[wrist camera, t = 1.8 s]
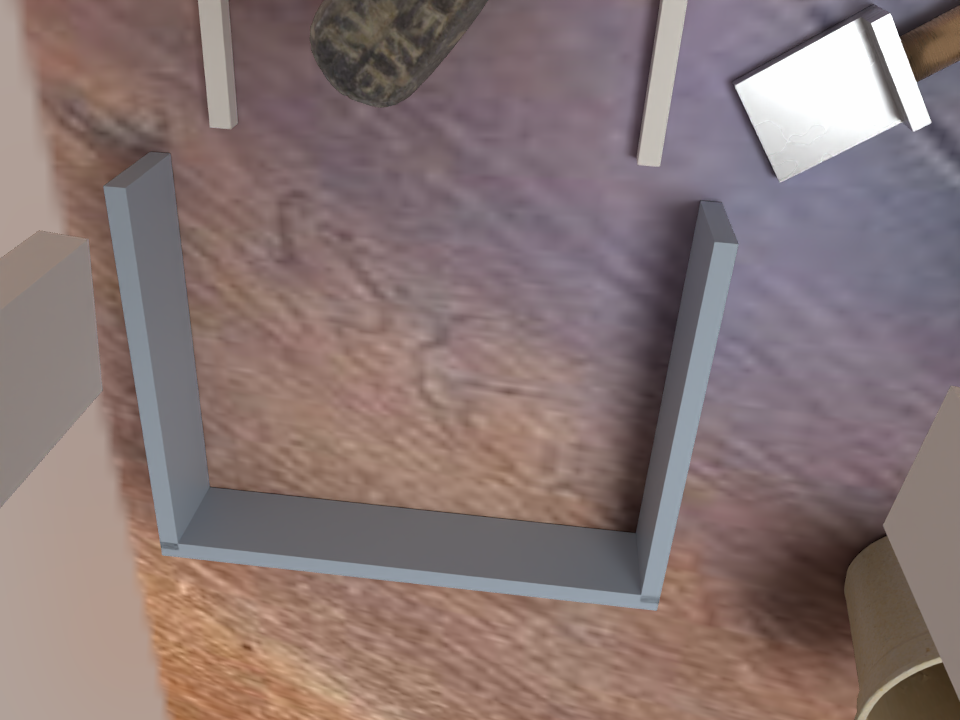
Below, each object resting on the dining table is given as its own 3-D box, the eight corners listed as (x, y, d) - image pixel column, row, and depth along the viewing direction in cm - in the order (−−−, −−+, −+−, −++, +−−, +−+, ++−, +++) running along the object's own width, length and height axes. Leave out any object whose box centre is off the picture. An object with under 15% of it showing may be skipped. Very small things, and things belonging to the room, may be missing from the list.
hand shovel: (1066, -102, 28) (1095, -98, 26) (1099, 16, 29) (1128, 26, 28) (732, 81, 31) (740, 94, 30) (776, 177, 33) (786, 194, 31)
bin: (150, 151, 35) (103, 186, 31) (721, 202, 34) (738, 243, 30) (195, 498, 43) (162, 555, 40) (650, 548, 42) (656, 610, 39)
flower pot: (773, 621, 44) (814, 780, 37) (859, 475, 39) (925, 623, 32) (955, 666, 44) (1031, 832, 37) (1062, 526, 40) (1174, 685, 32)
